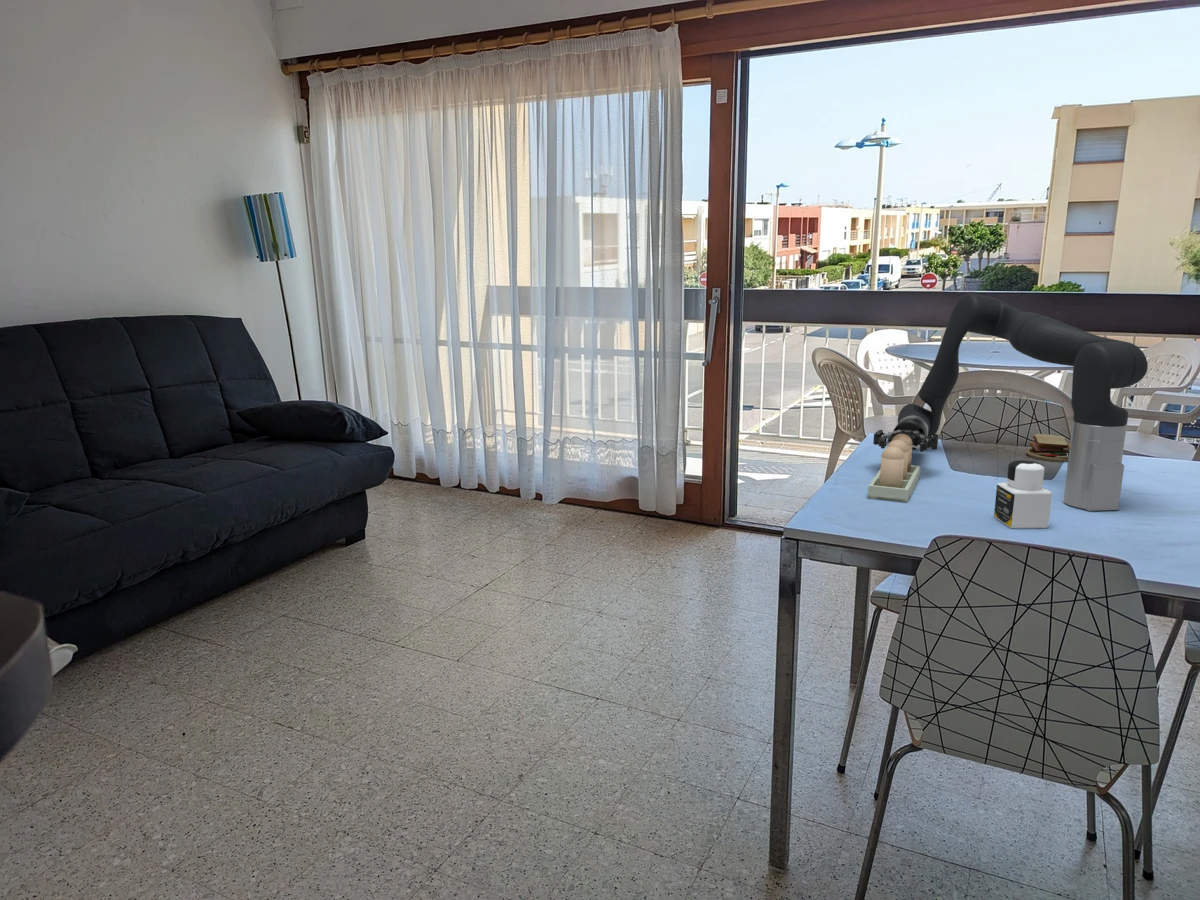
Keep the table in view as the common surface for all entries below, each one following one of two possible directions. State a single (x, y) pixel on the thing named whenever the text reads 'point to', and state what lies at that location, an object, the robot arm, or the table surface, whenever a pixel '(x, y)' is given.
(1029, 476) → the medicine bottle
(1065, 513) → the table surface
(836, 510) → the table surface
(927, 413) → the robot arm
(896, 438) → the round-topped wooden peg
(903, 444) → the compartment tray
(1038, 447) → the toy sandwich meal
